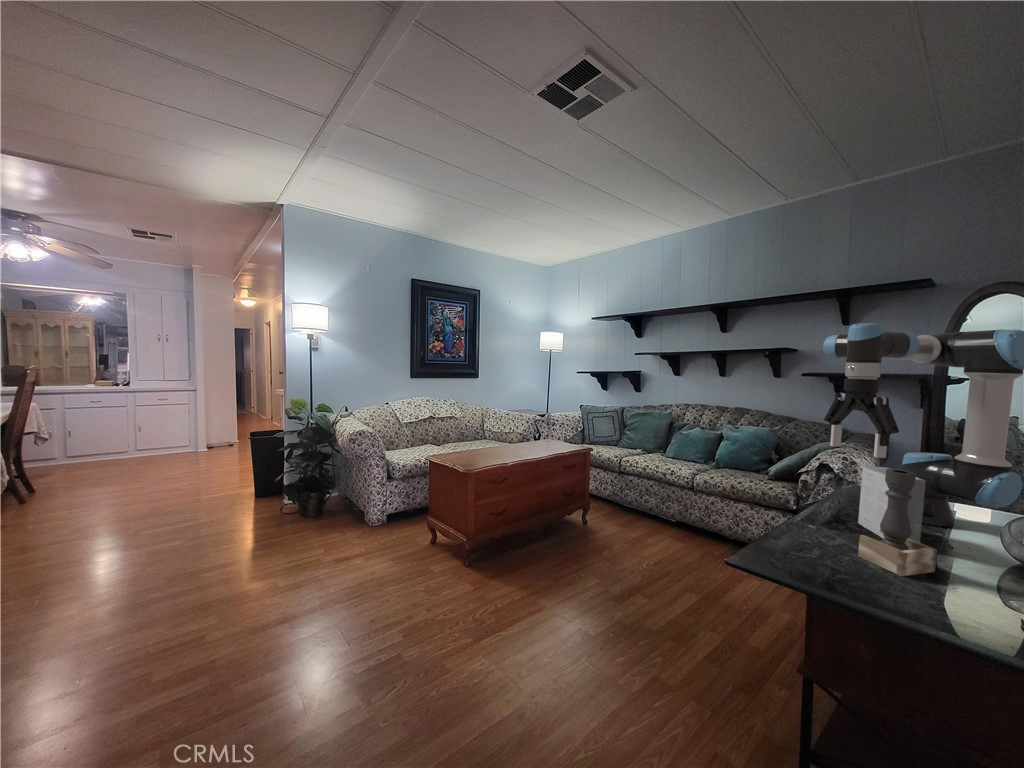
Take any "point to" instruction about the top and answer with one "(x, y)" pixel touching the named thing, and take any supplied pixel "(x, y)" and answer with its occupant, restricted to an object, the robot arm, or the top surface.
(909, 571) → the birch crate
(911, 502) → the hard drive box
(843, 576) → the top surface
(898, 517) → the candle holder
